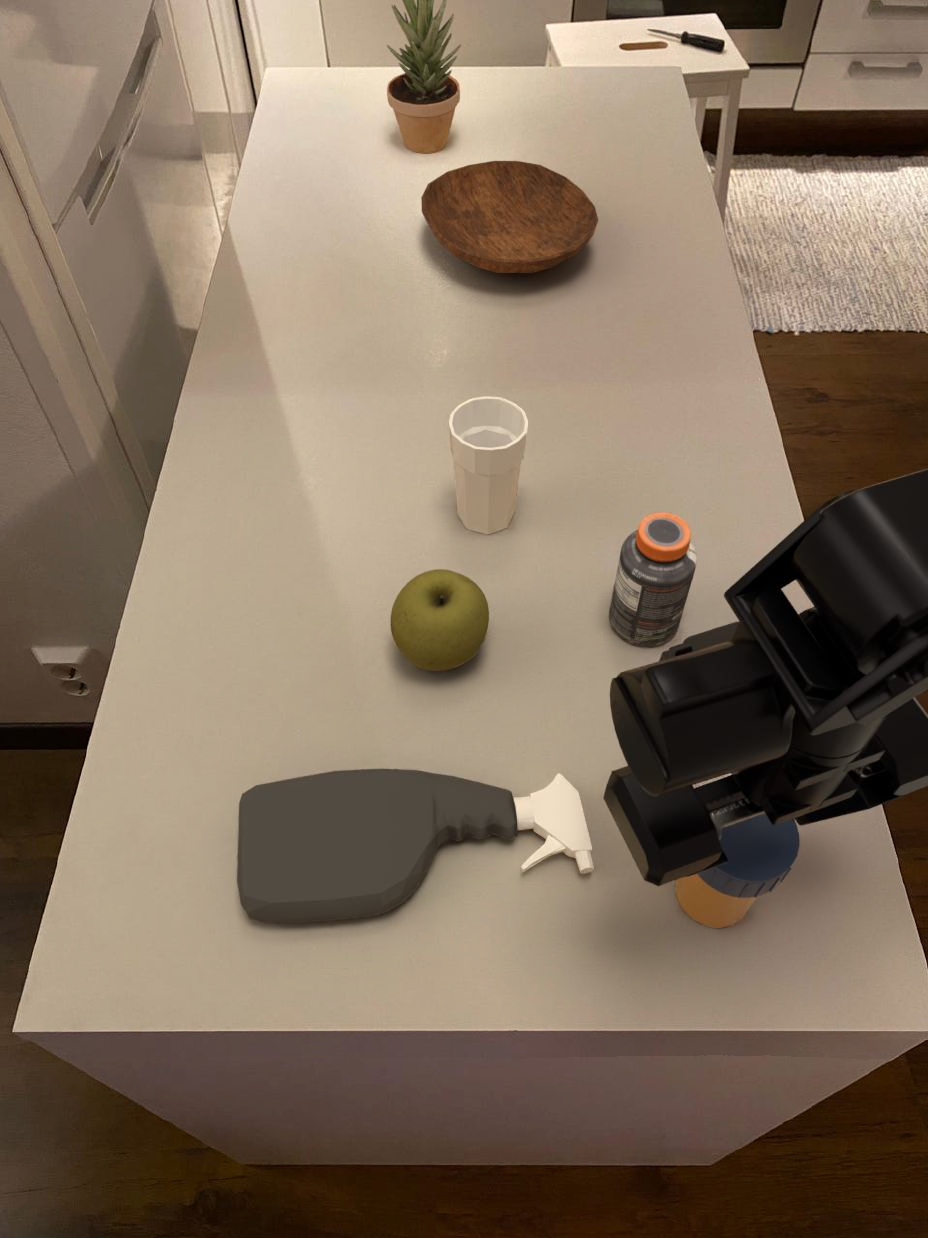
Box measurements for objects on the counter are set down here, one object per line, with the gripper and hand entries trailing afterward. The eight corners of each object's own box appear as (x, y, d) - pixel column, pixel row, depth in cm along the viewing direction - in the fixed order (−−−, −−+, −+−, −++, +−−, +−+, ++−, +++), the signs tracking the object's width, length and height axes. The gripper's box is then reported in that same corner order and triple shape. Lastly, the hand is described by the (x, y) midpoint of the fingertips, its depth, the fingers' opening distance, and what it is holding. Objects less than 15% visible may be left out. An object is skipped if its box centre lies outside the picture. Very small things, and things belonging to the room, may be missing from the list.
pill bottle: (684, 603, 81) (712, 512, 72) (670, 656, 78) (697, 568, 69) (617, 585, 82) (635, 493, 73) (600, 637, 79) (617, 548, 70)
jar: (726, 846, 68) (760, 784, 60) (764, 913, 65) (804, 857, 57) (661, 869, 67) (687, 810, 59) (697, 939, 64) (729, 886, 56)
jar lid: (754, 790, 63) (765, 770, 61) (807, 878, 59) (821, 861, 57) (666, 821, 61) (674, 802, 59) (716, 914, 58) (726, 897, 56)
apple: (507, 650, 78) (510, 597, 73) (433, 705, 75) (431, 654, 69) (447, 596, 82) (445, 541, 76) (374, 647, 79) (367, 593, 73)
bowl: (470, 317, 105) (470, 278, 101) (397, 219, 117) (394, 180, 113) (624, 275, 110) (630, 236, 106) (538, 185, 122) (541, 146, 118)
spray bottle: (244, 792, 71) (568, 759, 73) (241, 937, 64) (597, 897, 66) (237, 773, 68) (572, 740, 70) (233, 922, 62) (602, 881, 64)
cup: (488, 551, 85) (491, 461, 76) (435, 514, 87) (432, 423, 79) (536, 512, 88) (544, 421, 79) (483, 477, 90) (485, 385, 82)
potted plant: (381, 155, 127) (366, -61, 107) (400, 122, 132) (389, -90, 113) (454, 164, 125) (452, -54, 106) (470, 130, 131) (471, -83, 111)
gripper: (881, 541, 53) (801, 691, 65) (576, 635, 49) (553, 775, 62) (1014, 701, 47) (898, 833, 59) (677, 823, 43) (629, 936, 55)
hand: (742, 838), depth 59 cm, fingers open, 7 cm apart
